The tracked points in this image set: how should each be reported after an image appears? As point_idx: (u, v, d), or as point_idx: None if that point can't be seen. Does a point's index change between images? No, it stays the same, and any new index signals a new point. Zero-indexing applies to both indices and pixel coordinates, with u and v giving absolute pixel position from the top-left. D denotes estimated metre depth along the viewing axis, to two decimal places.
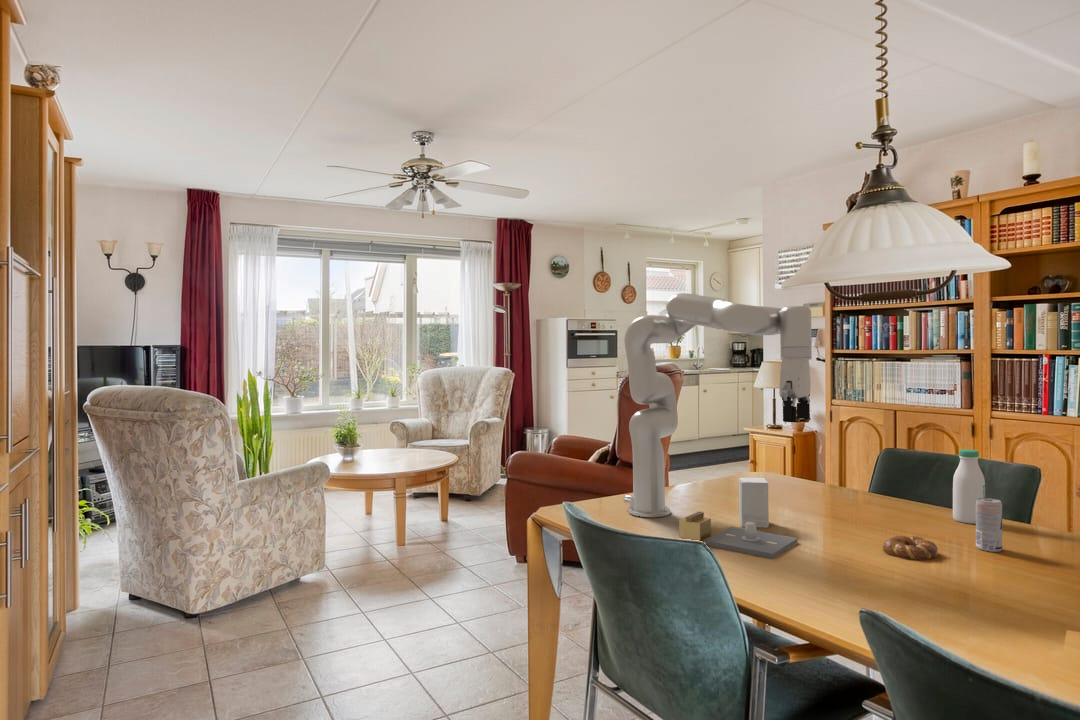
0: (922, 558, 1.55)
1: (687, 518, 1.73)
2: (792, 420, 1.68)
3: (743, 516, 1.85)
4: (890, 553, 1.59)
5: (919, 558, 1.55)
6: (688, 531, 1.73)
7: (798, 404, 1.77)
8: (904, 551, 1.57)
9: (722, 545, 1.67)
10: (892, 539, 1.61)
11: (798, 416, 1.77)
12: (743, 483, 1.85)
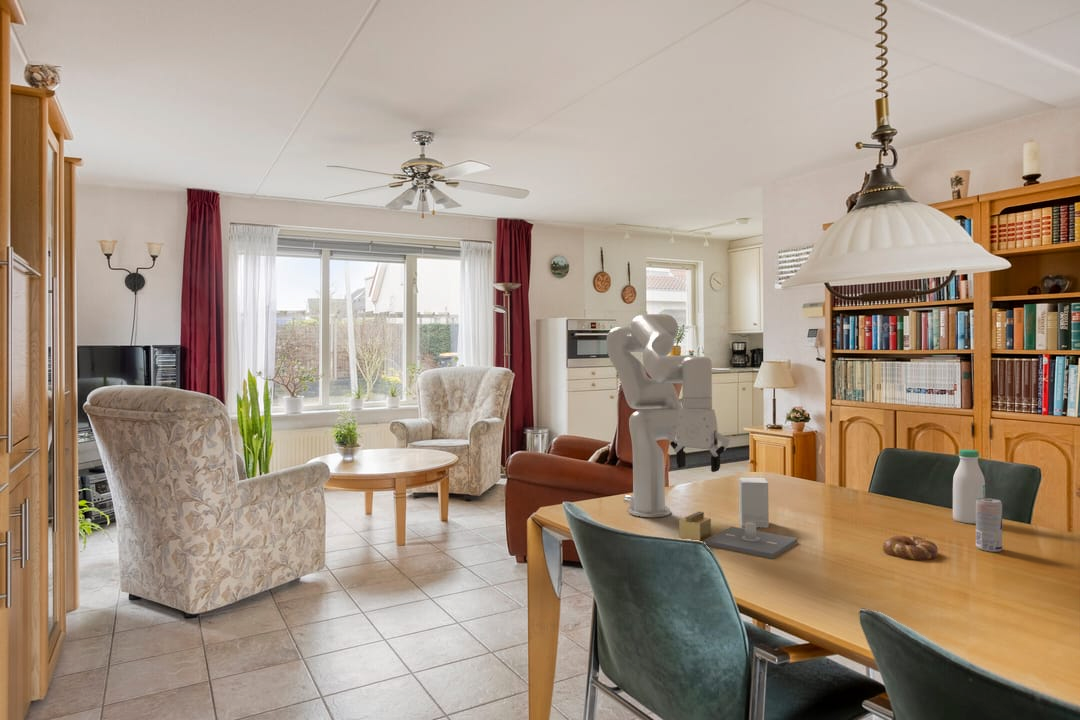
0: (922, 558, 1.55)
1: (687, 518, 1.73)
2: (717, 468, 1.72)
3: (743, 516, 1.85)
4: (890, 553, 1.59)
5: (919, 558, 1.55)
6: (688, 531, 1.73)
7: (680, 454, 1.77)
8: (904, 551, 1.57)
9: (722, 545, 1.67)
10: (892, 539, 1.61)
11: (680, 466, 1.77)
12: (743, 483, 1.85)
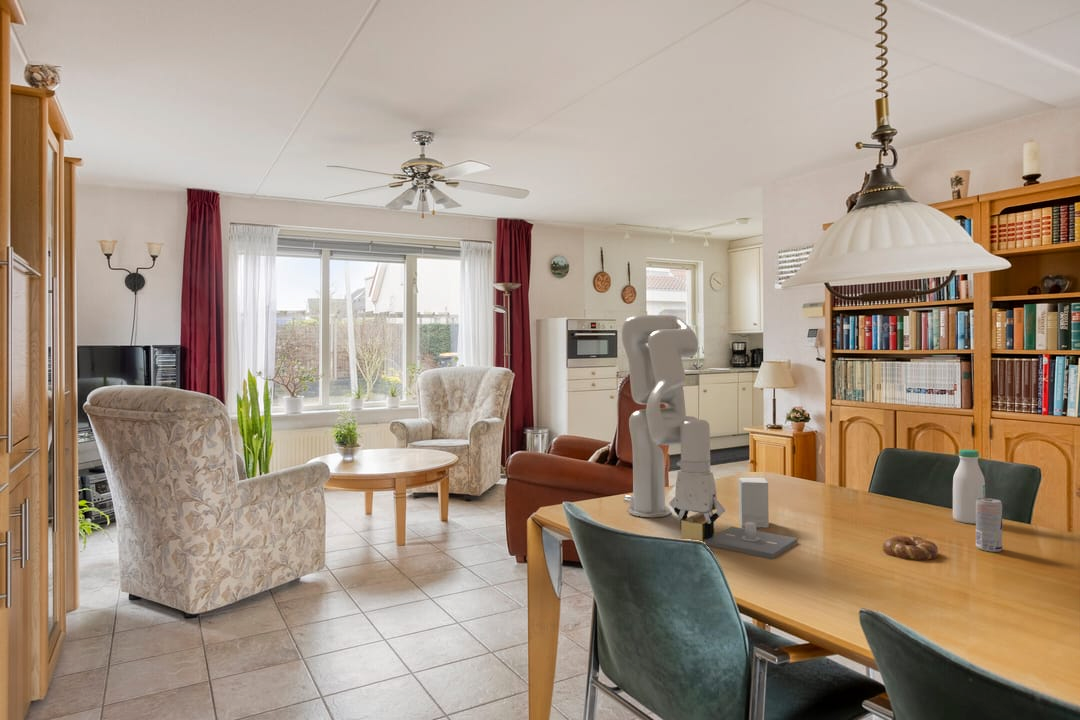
0: (922, 558, 1.55)
1: (689, 519, 1.72)
2: (711, 535, 1.73)
3: (743, 516, 1.85)
4: (890, 553, 1.59)
5: (919, 558, 1.55)
6: (690, 532, 1.72)
7: None
8: (904, 551, 1.57)
9: (722, 545, 1.67)
10: (892, 539, 1.61)
11: None
12: (743, 483, 1.85)
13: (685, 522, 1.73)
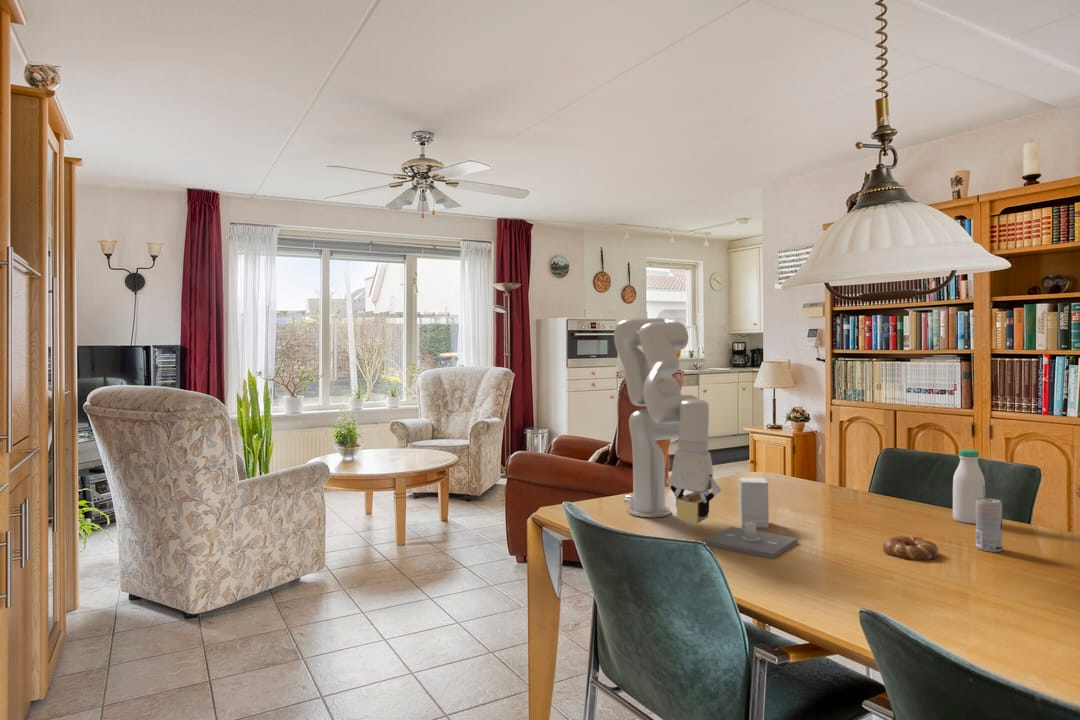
0: (922, 558, 1.55)
1: (685, 498, 1.74)
2: (706, 513, 1.75)
3: (743, 516, 1.85)
4: (890, 553, 1.59)
5: (919, 558, 1.55)
6: (686, 510, 1.74)
7: None
8: (904, 552, 1.57)
9: (722, 545, 1.67)
10: (892, 539, 1.61)
11: None
12: (743, 483, 1.85)
13: (681, 501, 1.75)
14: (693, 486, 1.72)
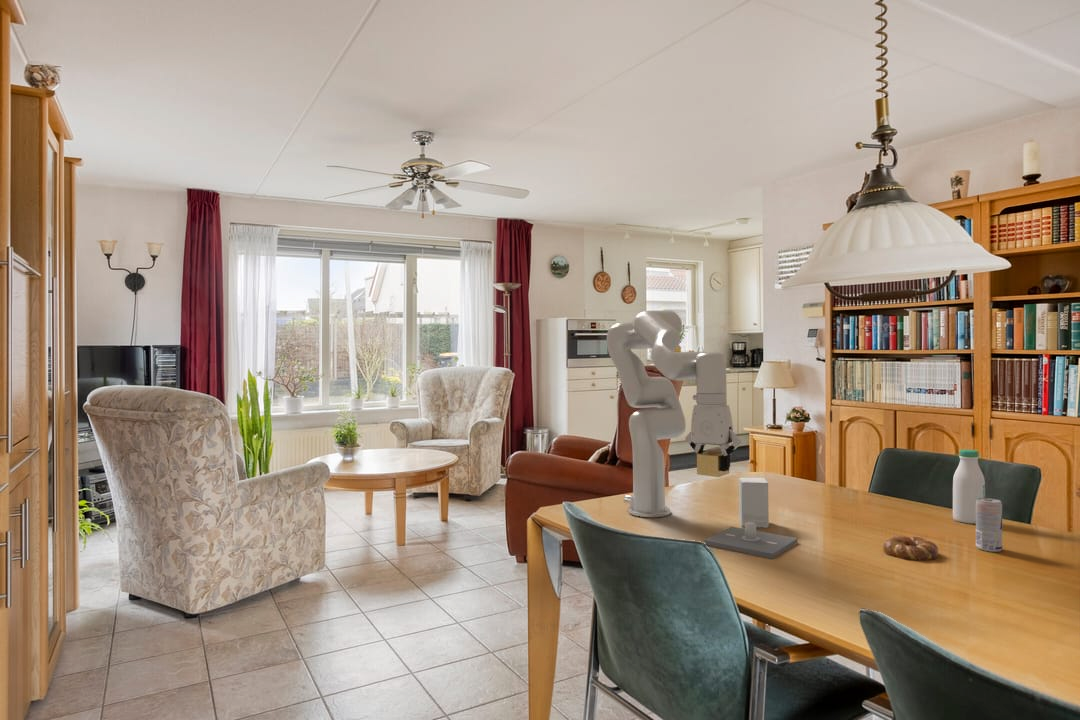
0: (922, 558, 1.55)
1: (705, 451, 1.70)
2: (727, 468, 1.71)
3: (743, 516, 1.85)
4: (890, 553, 1.59)
5: (919, 558, 1.55)
6: (706, 465, 1.71)
7: None
8: (904, 552, 1.57)
9: (722, 545, 1.67)
10: (892, 539, 1.61)
11: None
12: (743, 483, 1.85)
13: (701, 455, 1.72)
14: (713, 439, 1.69)
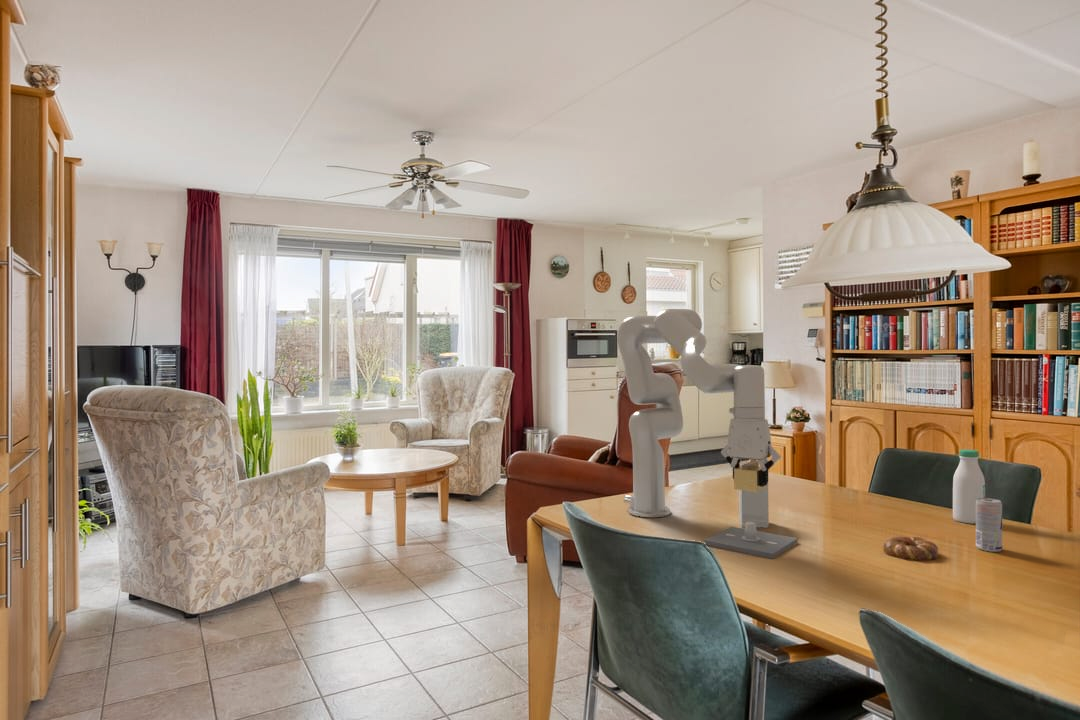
0: (922, 559, 1.55)
1: (743, 466, 1.67)
2: (765, 483, 1.68)
3: (743, 516, 1.85)
4: (890, 553, 1.59)
5: (919, 559, 1.55)
6: (744, 480, 1.68)
7: None
8: (904, 552, 1.57)
9: (722, 545, 1.67)
10: (892, 539, 1.61)
11: None
12: None
13: (738, 470, 1.69)
14: (751, 454, 1.66)
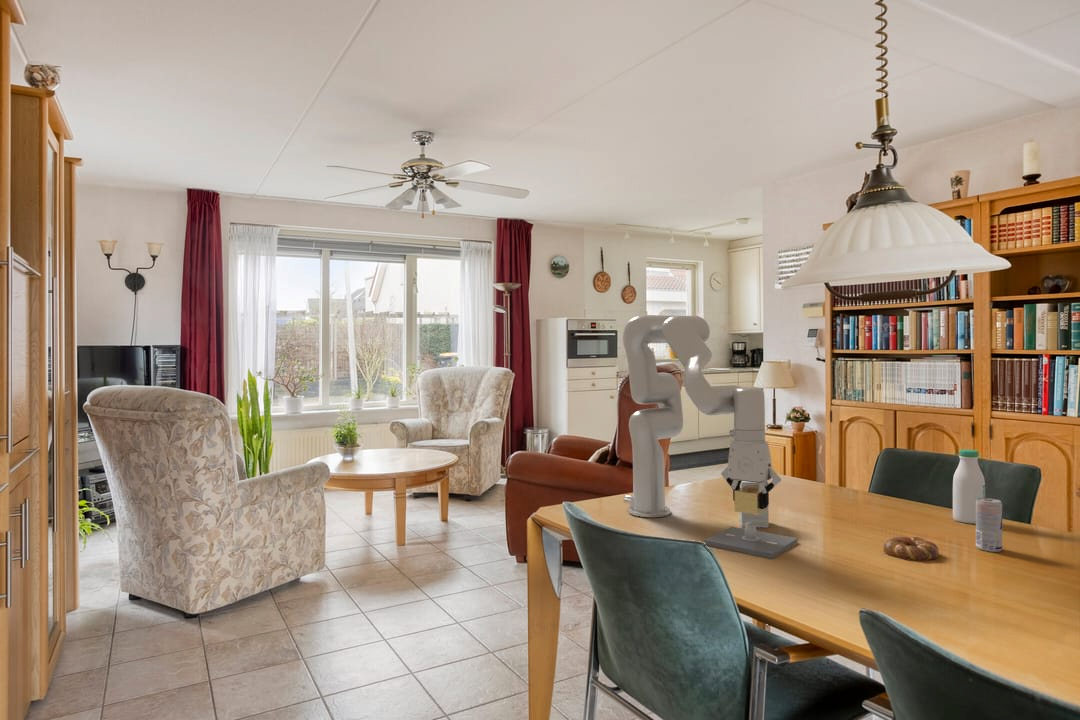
0: (922, 559, 1.55)
1: (743, 489, 1.67)
2: (766, 505, 1.68)
3: (743, 516, 1.85)
4: (890, 554, 1.59)
5: (919, 559, 1.55)
6: (744, 502, 1.68)
7: None
8: (905, 552, 1.56)
9: (722, 545, 1.67)
10: (893, 540, 1.61)
11: None
12: (743, 483, 1.85)
13: (739, 492, 1.69)
14: (752, 476, 1.67)
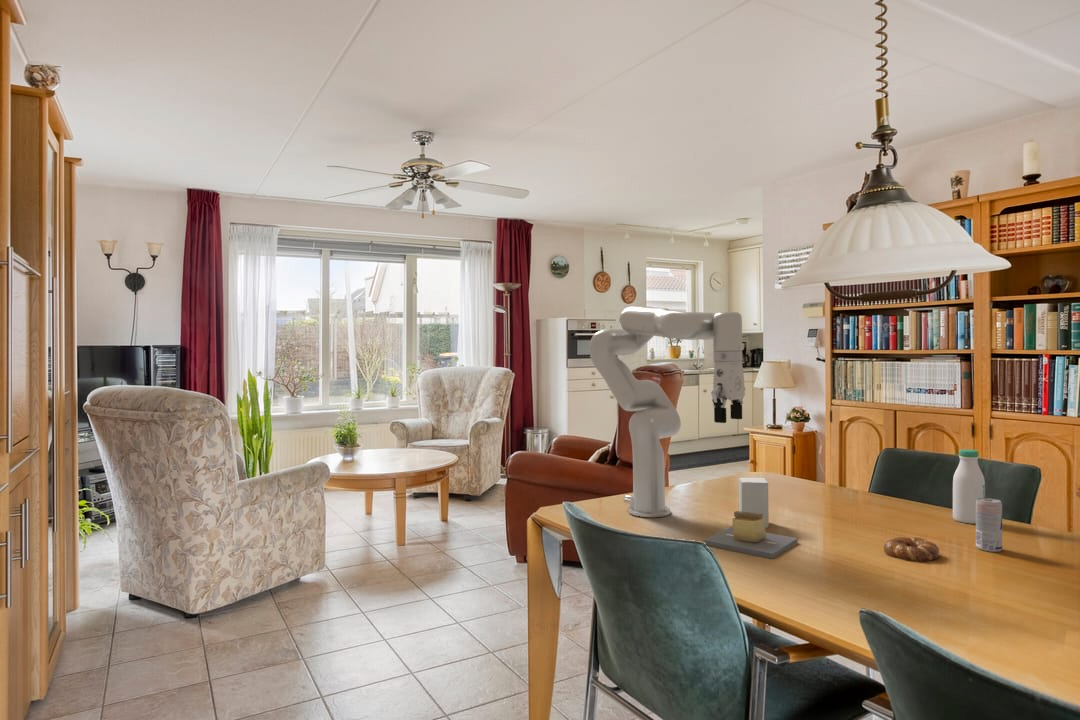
0: (923, 559, 1.54)
1: (761, 515, 1.68)
2: None
3: None
4: (891, 554, 1.59)
5: (920, 559, 1.54)
6: (760, 529, 1.68)
7: None
8: (905, 552, 1.56)
9: (722, 545, 1.67)
10: (893, 540, 1.61)
11: None
12: (743, 483, 1.85)
13: (757, 521, 1.67)
14: (740, 393, 1.80)
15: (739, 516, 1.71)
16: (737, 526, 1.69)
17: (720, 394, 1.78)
